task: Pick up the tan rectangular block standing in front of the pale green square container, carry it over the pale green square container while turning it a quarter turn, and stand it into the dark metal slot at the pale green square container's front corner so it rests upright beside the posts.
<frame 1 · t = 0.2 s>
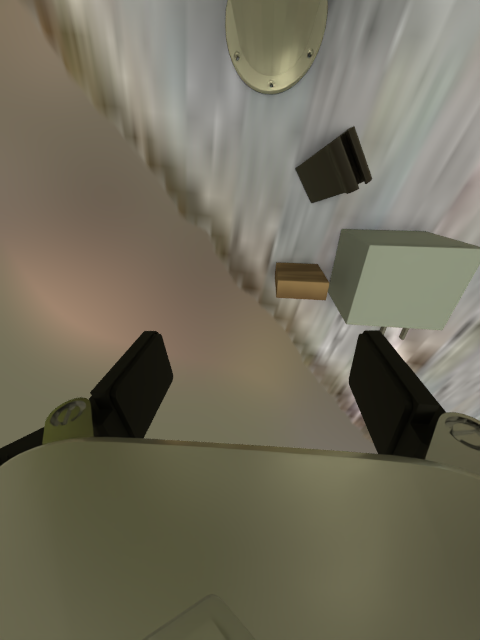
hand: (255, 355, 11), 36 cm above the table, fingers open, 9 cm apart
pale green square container: (372, 263, 43), on the table
tan rectangular block: (295, 270, 45), on the table
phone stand: (329, 168, 36), on the table
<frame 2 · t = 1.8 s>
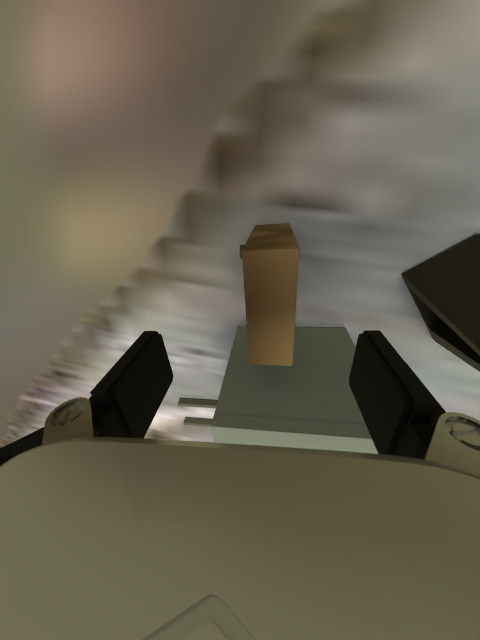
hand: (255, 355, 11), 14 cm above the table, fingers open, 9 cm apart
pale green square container: (287, 373, 29), on the table
tan rectangular block: (271, 267, 22), on the table
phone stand: (450, 291, 22), on the table
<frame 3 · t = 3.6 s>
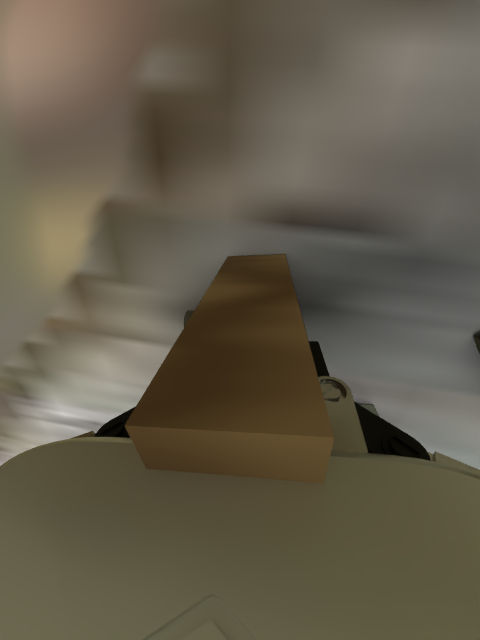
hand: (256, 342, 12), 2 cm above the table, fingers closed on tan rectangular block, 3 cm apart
tan rectangular block: (258, 321, 14), on the table, touching gripper
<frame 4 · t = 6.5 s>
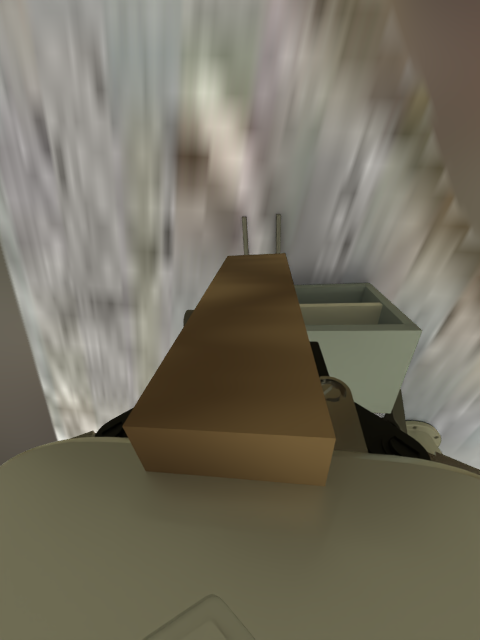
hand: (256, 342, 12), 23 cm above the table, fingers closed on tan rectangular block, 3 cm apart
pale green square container: (316, 319, 37), on the table
tan rectangular block: (258, 320, 14), point 21 cm above the table, touching gripper
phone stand: (368, 386, 43), on the table
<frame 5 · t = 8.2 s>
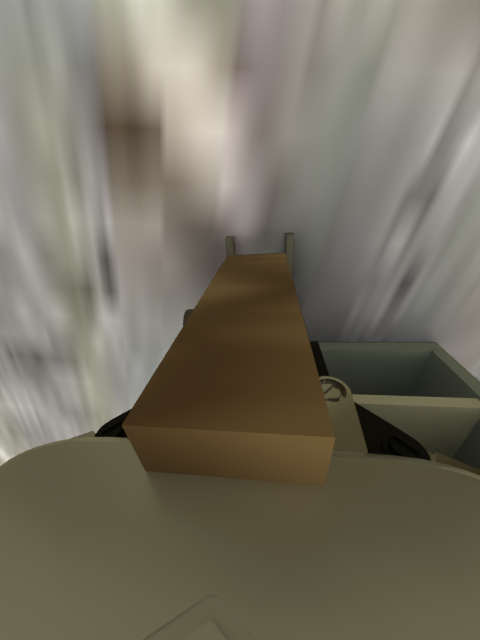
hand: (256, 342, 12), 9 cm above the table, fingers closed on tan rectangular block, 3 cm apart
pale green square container: (343, 388, 24), on the table
tan rectangular block: (258, 320, 14), point 6 cm above the table, touching gripper
when the fingers open (3 cm above the table, at t = 9.5 s): tan rectangular block stays where it is, resting in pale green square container.
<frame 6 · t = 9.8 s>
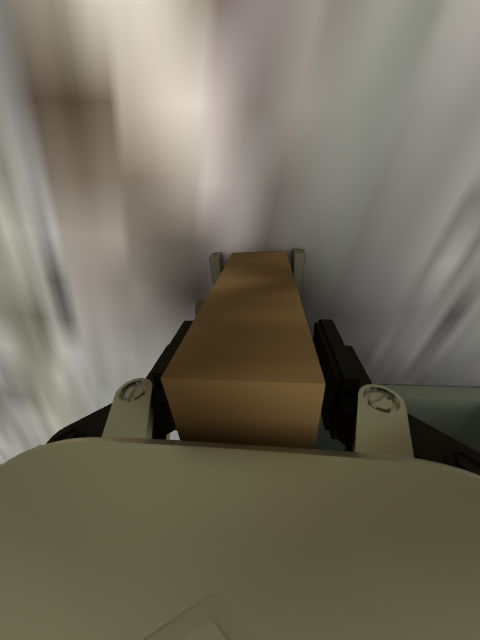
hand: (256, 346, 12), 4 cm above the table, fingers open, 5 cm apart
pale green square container: (361, 435, 19), on the table
tan rectangular block: (260, 314, 15), resting in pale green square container
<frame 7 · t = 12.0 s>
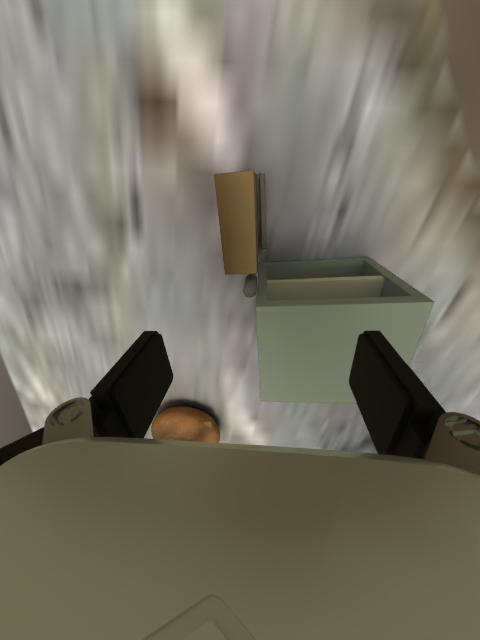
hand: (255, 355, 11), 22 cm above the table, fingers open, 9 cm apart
ceramic jug: (188, 420, 50), on the table
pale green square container: (308, 300, 33), on the table
tan rectangular block: (245, 215, 28), resting in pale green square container
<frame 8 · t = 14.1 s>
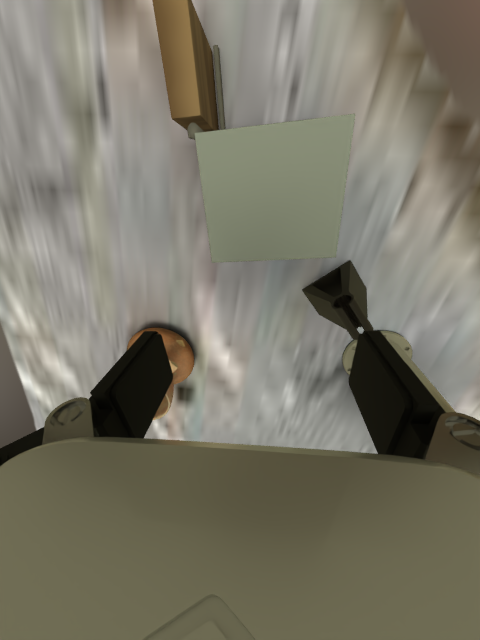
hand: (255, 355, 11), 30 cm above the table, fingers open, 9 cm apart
ceramic jug: (165, 349, 51), on the table
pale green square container: (270, 197, 34), on the table
tan rectangular block: (204, 98, 29), resting in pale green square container
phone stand: (332, 288, 40), on the table
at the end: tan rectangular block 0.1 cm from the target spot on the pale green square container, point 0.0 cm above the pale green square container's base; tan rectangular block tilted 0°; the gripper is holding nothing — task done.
